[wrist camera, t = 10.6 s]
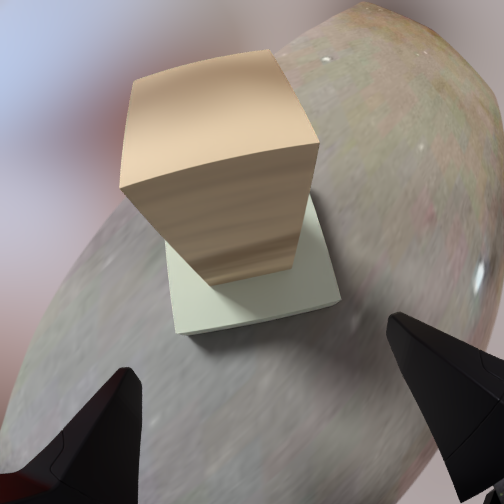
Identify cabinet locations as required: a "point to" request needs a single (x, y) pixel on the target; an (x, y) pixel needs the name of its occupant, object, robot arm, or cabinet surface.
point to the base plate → (255, 288)
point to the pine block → (221, 163)
